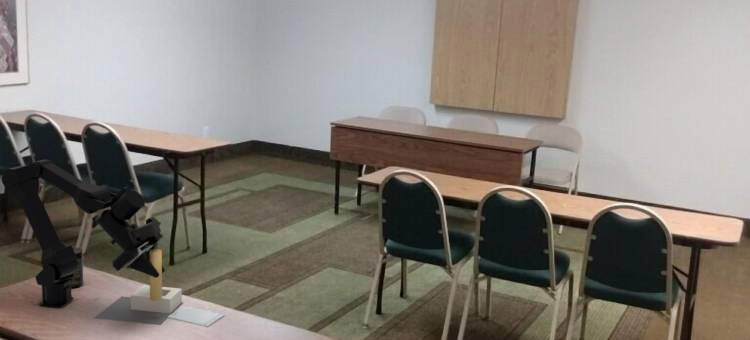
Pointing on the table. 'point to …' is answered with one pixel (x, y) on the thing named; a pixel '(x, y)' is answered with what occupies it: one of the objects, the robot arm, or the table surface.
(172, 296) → the hole block
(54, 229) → the robot arm
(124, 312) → the mat
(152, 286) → the peg
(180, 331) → the table surface
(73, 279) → the supplement container
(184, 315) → the hard drive
